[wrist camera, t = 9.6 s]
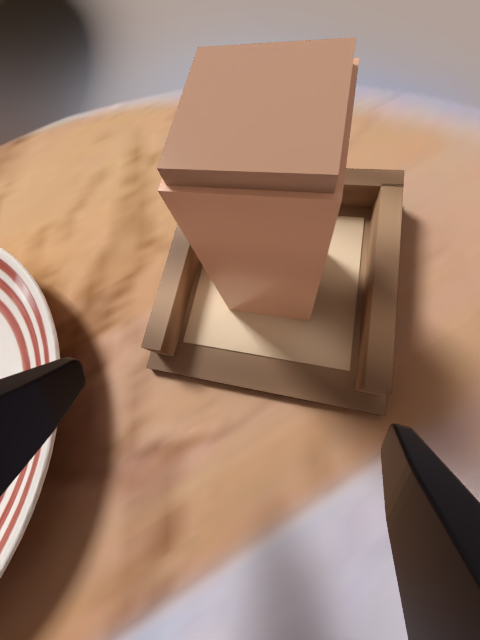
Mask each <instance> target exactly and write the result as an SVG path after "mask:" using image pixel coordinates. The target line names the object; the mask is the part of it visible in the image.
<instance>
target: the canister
mask: <svg viewBox="0 0 480 640" xmlns="http://www.w3.org/2000/svg"><path fill="white" fill-rule="evenodd" d="M355 43H356V37H355V38H339V39H323V40H306V41H290V42H274V43H258V44H240V45H226V46H225V45H224V46H208V47H198V48H197V51H196V54H195V57H194V60H193V63H192V66H191V69H190V72H189V75H188V78H187V81H186V84H185V87H184V90H183V93H182V95H181V98H180V101H179V104H178V107H177V110H176V113H175V116H174V119H173V122H172V125H171V128H170V131H169V134H168V137H167V140H166V143H165V146H164V149H163V152H162V155H161V158H160V161H159V164H158V166H157V169H158V171H159V173H160V175H161V177H162V180H161V183H160V186H159V189H158V192H159V194H160V195H161V197H162V199H163V200H164V202H165V204H166V205H167V207H168V209H169V210H170V212H171V214H172V215H173V217H174V219H175V220H176V222H177V224H178V225H179V227H180V229H181V230H182V232H183V234H184V235H185V237H186V239H187V240H188V242H189V244H190V245H191V247H192V249H193V250H194V252H195V254H196V255H197V257H198V259H199V260H200V262H201V264H202V265H203V267H204V269H205V270H206V272H207V274H208V275H209V277H210V279H211V280H212V282H213V284H214V285H215V287H216V289H217V290H218V292H219V294H220V295H221V297H222V299H223V300H224V302H225V304H226V305H227V307H228V309H229V310H235V311H242V312H249V313H256V314H263V315H270V316H277V317H284V318H291V319H298V320H305V321H310V317H311V314H312V310H313V306H314V302H315V299H316V295H317V291H318V287H319V284H320V280H321V276H322V273H323V269H324V265H325V261H326V258H327V254H328V250H329V246H330V243H331V239H332V235H333V232H334V228H335V224H336V220H337V217H338V213H339V209H340V206H341V202H342V195H343V187H344V179H345V170H346V162H347V154H348V146H349V138H350V129H351V121H352V113H353V105H354V97H355V88H356V80H357V71H358V63H359V58H354V51H355Z"/></svg>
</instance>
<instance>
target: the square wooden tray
mask: <svg viewBox="0 0 480 640" xmlns="http://www.w3.org/2000/svg"><path fill="white" fill-rule="evenodd" d="M403 184H404V170H380V169H348V168H346V170H345V179H344V187H343V195H342V202H341V206H340V209H339V213H338V217H337V220H336V224H335V228H334V232H333V235H332V239H331V243H330V246H329V250H328V254H327V258H326V261H325V265H324V269H323V273H322V276H321V280H320V284H319V287H318V291H317V295H316V299H315V302H314V306H313V310H312V314H311V317H310V321H305V320H298V319H291V318H284V317H277V316H270V315H263V314H256V313H249V312H242V311H235V310H229V309H228V307H227V305H226V304H225V302H224V300H223V299H222V297H221V295H220V294H219V292H218V290H217V289H216V287H215V285H214V284H213V282H212V280H211V279H210V277H209V275H208V274H207V272H206V270H205V269H204V267H203V265H202V264H201V262H200V260H199V259H198V257H197V255H196V254H195V252H194V250H193V249H192V247H191V245H190V244H189V242H188V240H187V239H186V237H185V235H184V234H183V232H182V230H181V229H180V227H179V225H178V224H177V227H176V231H175V234H174V238H173V241H172V244H171V248H170V251H169V254H168V258H167V261H166V265H165V268H164V271H163V275H162V278H161V281H160V285H159V288H158V292H157V295H156V298H155V302H154V305H153V308H152V312H151V315H150V319H149V322H148V325H147V329H146V332H145V335H144V339H143V342H142V346H141V347H142V348H144V349H147V350H149V351H151V353H150V357H149V360H148V364H147V367H146V368H149V369H153V370H158V371H163V372H168V373H173V374H178V375H183V376H188V377H193V378H198V379H203V380H208V381H213V382H218V383H223V384H228V385H233V386H238V387H243V388H248V389H253V390H258V391H263V392H268V393H273V394H278V395H283V396H288V397H293V398H298V399H303V400H308V401H313V402H318V403H323V404H328V405H333V406H338V407H343V408H348V409H353V410H358V411H363V412H368V413H373V414H378V415H383V416H385V414H386V398H387V394H391V393H392V381H393V363H394V345H395V327H396V309H397V291H398V273H399V256H400V238H401V220H402V202H403Z"/></svg>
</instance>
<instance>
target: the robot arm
mask: <svg viewBox="0 0 480 640" xmlns="http://www.w3.org/2000/svg"><path fill="white" fill-rule="evenodd" d="M85 384H86V378H85V374H84V371H83V367H82V364H81V362H80V361H79V360H78V359H75V358H70V357H64V358H61V359H58V360H55V361H52V362H49V363H46V364H43V365H40V366H37V367H34V368H31V369H28V370H25V371H22V372H19V373H17V374H14V375H11V376H8V377H5V378H2V379H0V497H1V496H2V494H3V493H4V492H5V491H6V489H7V488H8V487H9V486H10V485H11V483H12V482H13V481H14V480H15V478H16V477H17V476H18V475H19V474H20V472H21V471H22V470H23V469H24V467H25V466H26V465H27V464H28V463H29V461H30V460H31V459H32V458H33V456H34V455H35V454H36V453H37V452H38V450H39V449H40V448H41V447H42V445H43V444H44V443H45V442H46V441H47V439H48V438H49V437H50V436H51V434H52V433H53V432H54V430H55V429H56V428H57V426H58V425H59V423H60V422H61V421H62V419H63V418H64V416H65V415H66V413H67V412H68V410H69V409H70V407H71V406H72V404H73V403H74V402H75V400H76V399H77V397H78V396H79V394H80V393H81V391H82V390H83V388H84V387H85ZM381 461H382V474H383V487H384V500H385V512H386V521H387V527H388V533H389V538H390V544H391V549H392V554H393V560H394V565H395V571H396V576H397V581H398V587H399V592H400V597H401V603H402V608H403V613H404V619H405V624H406V629H407V635H408V640H480V502H479V501H478V500H477V499H476V498H475V497H474V496H473V495H472V494H471V492H470V491H469V490H468V489H467V488H466V487H465V486H464V485H463V484H462V483H461V482H460V480H459V479H458V478H457V477H456V476H455V475H454V474H453V473H452V472H451V471H450V469H449V468H448V467H447V466H446V465H445V464H444V463H443V462H442V461H441V460H440V459H439V457H438V456H437V455H436V454H435V453H434V452H433V451H432V450H431V449H430V448H429V446H428V445H427V444H426V443H425V442H424V441H423V440H422V439H421V438H420V437H419V436H418V434H417V433H416V432H415V431H414V430H413V429H412V428H410V427H408V426H404V425H399V424H392V425H391V426H390V427H389V429H388V432H387V434H386V437H385V439H384V442H383V444H382V448H381Z"/></svg>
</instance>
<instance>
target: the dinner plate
mask: <svg viewBox="0 0 480 640" xmlns="http://www.w3.org/2000/svg"><path fill="white" fill-rule="evenodd" d="M58 359H60V350H59V343H58V337H57V332H56V328H55V324H54V320H53V317H52V314H51V311H50V308H49V306H48V304H47V301H46V299H45V296H44V294H43V293H42V291H41V289H40V288H39V286H38V284H37V283H36V281H35V280H34V278H33V277H32V276H31V274H30V273H29V272H28V271H27V269H26V268H25V267H24V266H23V265H22V264H21V263H20V262H19V261H18V260H17V259H16V258H14V257H13V256H12V255H11V254H9V253H8V252H6V251H5V250H4V249H2V248H0V379H2V378H5V377H8V376H11V375H14V374H17V373H19V372H22V371H25V370H28V369H31V368H34V367H37V366H40V365H43V364H46V363H49V362H52V361H55V360H58ZM56 431H57V428H56V429H55V430H54V432H53V433H52V434H51V436H50V437H49V438H48V439H47V441H46V442H45V443H44V444H43V445H42V447H41V448H40V449H39V450H38V452H37V453H36V454H35V455H34V456H33V458H32V459H31V460H30V461H29V463H28V464H27V465H26V466H25V467H24V469H23V470H22V471H21V472H20V474H19V475H18V476H17V477H16V478H15V480H14V481H13V482H12V483H11V485H10V486H9V487H8V488H7V489H6V491H5V492H4V493H3V494H2V496H1V497H0V578H1V577H2V575H3V573H4V572H5V570H6V568H7V566H8V564H9V562H10V560H11V558H12V556H13V555H14V553H15V551H16V549H17V547H18V545H19V543H20V541H21V539H22V537H23V535H24V533H25V530H26V528H27V526H28V523H29V521H30V519H31V516H32V514H33V512H34V509H35V506H36V503H37V501H38V498H39V495H40V493H41V490H42V486H43V483H44V480H45V477H46V474H47V471H48V467H49V463H50V459H51V456H52V451H53V446H54V441H55V436H56Z"/></svg>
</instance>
